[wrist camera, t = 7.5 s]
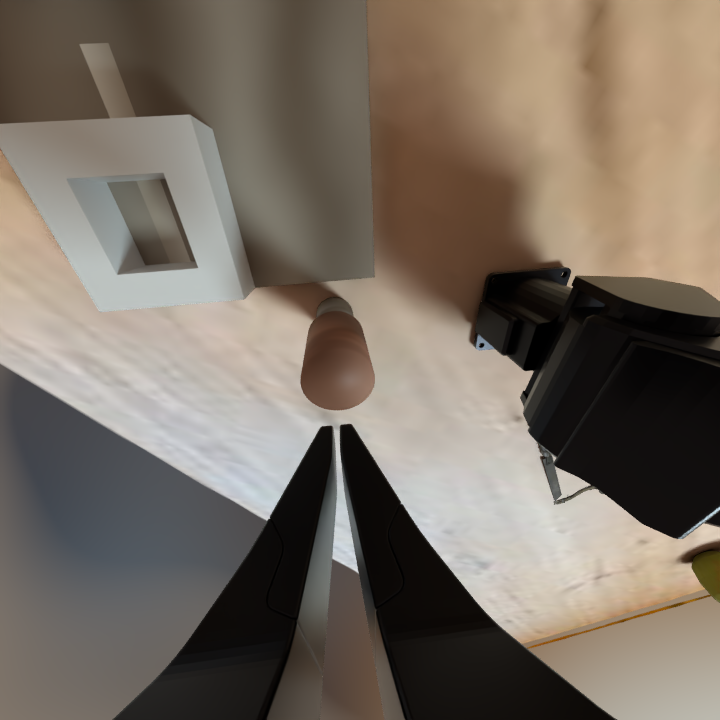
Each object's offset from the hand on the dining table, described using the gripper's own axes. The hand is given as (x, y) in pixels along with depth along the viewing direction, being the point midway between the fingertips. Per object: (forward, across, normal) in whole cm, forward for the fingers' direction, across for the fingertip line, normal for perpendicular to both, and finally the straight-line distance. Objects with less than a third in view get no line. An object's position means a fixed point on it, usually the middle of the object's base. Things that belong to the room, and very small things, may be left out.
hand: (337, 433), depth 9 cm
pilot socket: (+11, +9, -6) cm, 16 cm away
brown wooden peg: (+13, 0, +1) cm, 13 cm away
